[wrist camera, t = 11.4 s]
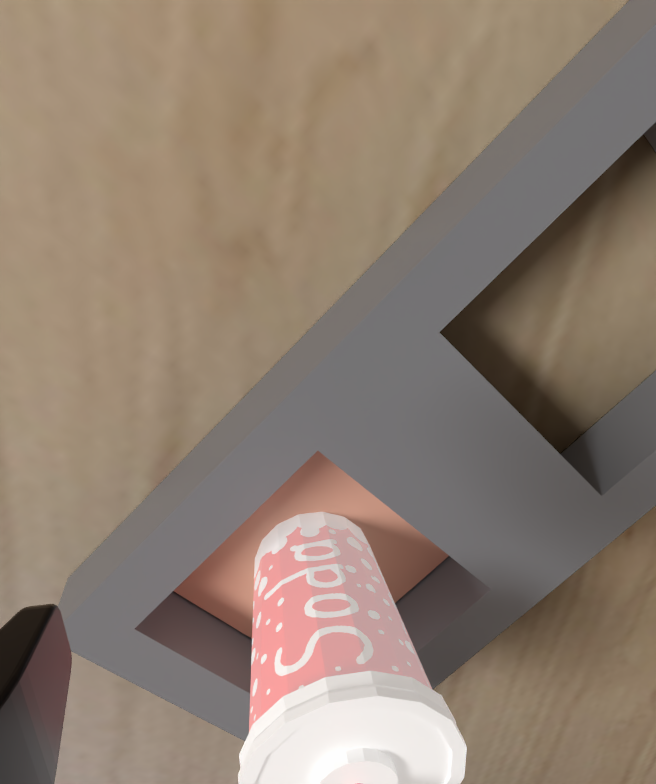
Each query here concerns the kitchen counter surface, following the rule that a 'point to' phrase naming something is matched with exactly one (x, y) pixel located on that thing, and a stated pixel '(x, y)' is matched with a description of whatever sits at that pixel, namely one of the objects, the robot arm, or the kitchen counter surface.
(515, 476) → the cup caddy
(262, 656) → the beverage cup
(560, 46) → the kitchen counter surface
